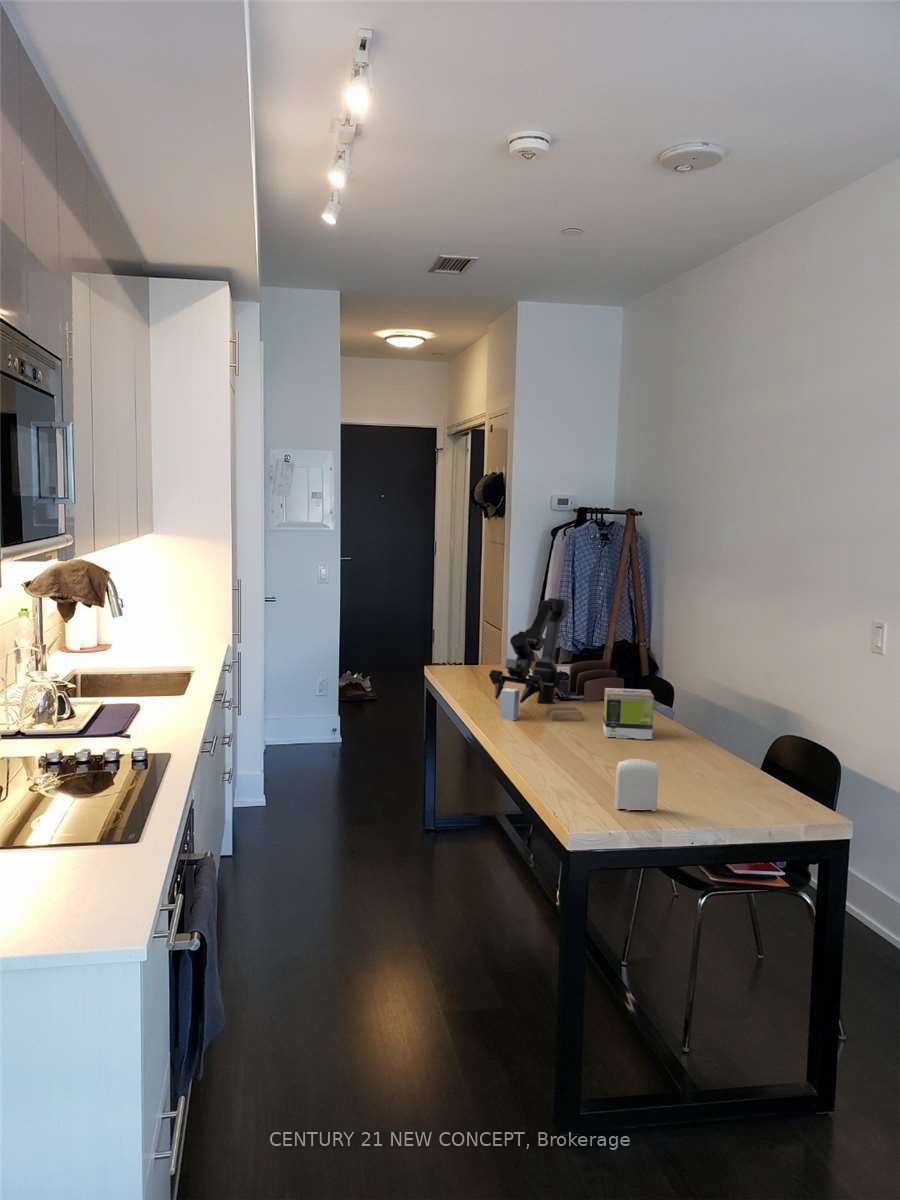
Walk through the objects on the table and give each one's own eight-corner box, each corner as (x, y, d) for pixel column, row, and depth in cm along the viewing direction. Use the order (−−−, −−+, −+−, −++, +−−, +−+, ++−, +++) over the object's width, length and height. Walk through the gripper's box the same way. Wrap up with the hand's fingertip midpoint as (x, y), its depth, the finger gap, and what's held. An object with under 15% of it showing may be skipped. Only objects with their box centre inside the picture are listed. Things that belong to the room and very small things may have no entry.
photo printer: (615, 811, 215) (618, 761, 213) (612, 805, 219) (615, 756, 217) (658, 813, 214) (661, 763, 213) (654, 807, 218) (657, 758, 217)
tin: (504, 716, 306) (506, 687, 305) (518, 718, 304) (519, 689, 303) (499, 719, 303) (501, 689, 302) (513, 721, 301) (514, 691, 299)
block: (546, 715, 313) (546, 705, 312) (573, 715, 314) (574, 706, 314) (552, 722, 303) (553, 712, 303) (581, 722, 304) (581, 712, 304)
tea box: (648, 733, 292) (651, 689, 290) (652, 741, 282) (655, 695, 280) (602, 730, 293) (604, 686, 292) (604, 738, 283) (607, 692, 282)
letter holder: (567, 697, 343) (569, 661, 341) (606, 693, 353) (608, 658, 352) (584, 703, 334) (586, 666, 333) (623, 698, 345) (625, 663, 343)
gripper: (492, 646, 309) (477, 682, 300) (542, 652, 300) (527, 690, 292) (501, 666, 317) (486, 701, 308) (549, 672, 308) (535, 709, 299)
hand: (508, 700), depth 302 cm, fingers open, 9 cm apart
